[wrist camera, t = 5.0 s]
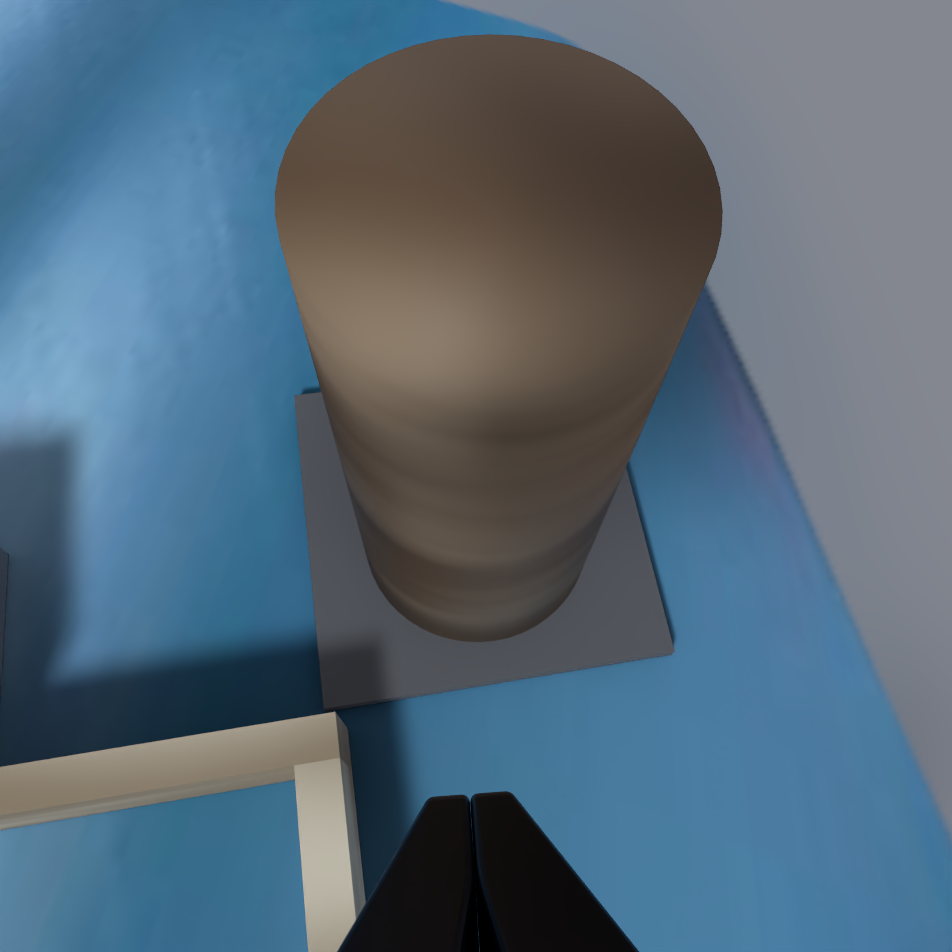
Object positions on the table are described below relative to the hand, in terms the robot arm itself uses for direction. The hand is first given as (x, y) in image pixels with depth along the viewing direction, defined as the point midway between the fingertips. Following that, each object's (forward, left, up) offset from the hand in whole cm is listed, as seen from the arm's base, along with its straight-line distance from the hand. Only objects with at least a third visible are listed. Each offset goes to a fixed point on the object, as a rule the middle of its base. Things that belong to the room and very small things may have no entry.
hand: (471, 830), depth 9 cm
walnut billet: (+8, -2, -13) cm, 15 cm away
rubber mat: (+8, -2, -13) cm, 16 cm away
